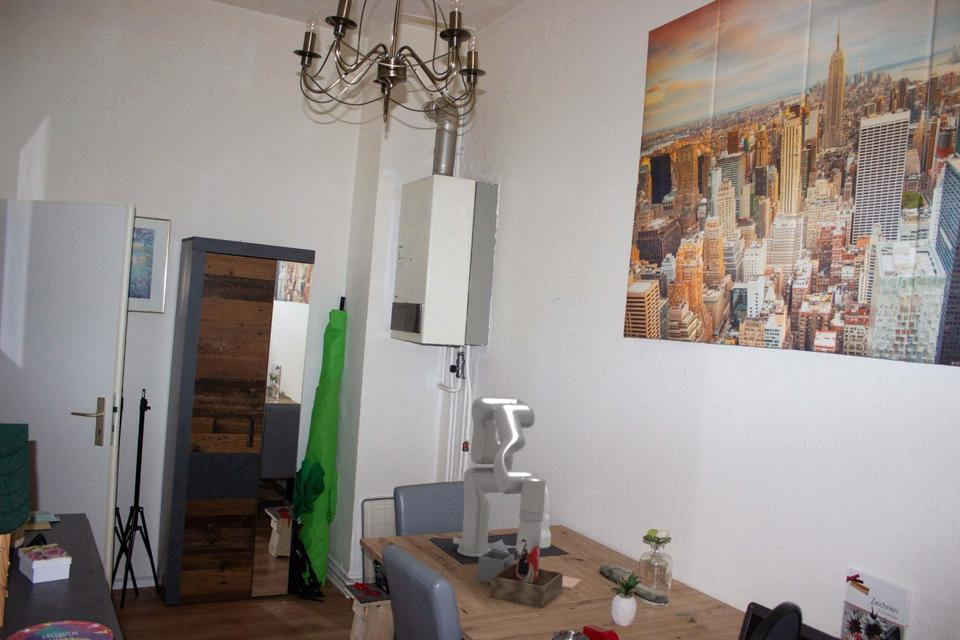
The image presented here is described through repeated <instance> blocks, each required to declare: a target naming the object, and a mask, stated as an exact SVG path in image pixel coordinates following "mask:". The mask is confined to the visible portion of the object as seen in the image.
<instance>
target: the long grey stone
mask: <svg viewBox="0 0 960 640" xmlns="http://www.w3.org/2000/svg"><path fill="white" fill-rule="evenodd" d="M599 572H601V573H603V575H604V576H605V577H607V578H608V577H609V578H608V579H609V581H612V580H613V581H612V582H615V583H617V581H619V580H620V575H622V576H623V578H624V580H627V579H628V577H629V576H630V575H631V574H632V573H633V572H635V571H634V570H632V569H630V568H628V567H626V566H625V567H624V566H621V565H620V564H619V565H618V564H615V563H613V562H607V561H605V562H601V563H600V564H599ZM636 574H638V572H637V573H636ZM636 595H638V596H640V597H642V598H643V599H646V600H647V601H651V602H654V603H657V604H665V603H667V602H668V595H667V593H666V592H665V591H664V590H663V589H662V590H655V589H650V588H648V587H645V586H643V585H642V584H640V583H639V584H638V585H637V586H636Z"/></svg>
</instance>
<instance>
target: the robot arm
mask: <svg viewBox="0 0 960 640" xmlns="http://www.w3.org/2000/svg"><path fill="white" fill-rule="evenodd" d="M535 416H536V415H535V412H534V409H533V407H532V406H531V405H530V404H529V403H528V402H526V401H524V400H522V399H520V398H518V397H513V396H479V397H476V398H475V399H474V400H473V401H472V404H471V418H472V424H473V425H472V426H473V427H472V437H471V444H470V445H471V446H470V460H471V461H472V462H473V463H475V464H477V465H493V466H473V467H469V468H467V469H465V472H464V473H463V479H462V481H463V490H464V502H463V503H464V507H463V522H462V535H461V536H462V537H461V538H460V537H456V536H454V537H453V539H452V544H454V545H458V547H457V553H459V554H460V555H462V556H466V557H471V558H479V556H480V555H482V554H484V553H486V552H487V551H489V550H492V549H491V548H490V547H488V546H489V529H490V511H491V504H490V502H489V500H488V499H487V497H486V496H485V494H489V493H492V494H493V493H497V494H498V493H502V494H504V495H520V503H519V504H520V505H519V515H518V516H519V524H518V528H517V536H516V542H515V544H516V545H515V552H517V553H518V558H519V559H518V561H519V562H518V574H522V575H528V565H529V562H528V558H529V554H530V553H532V550H533V548H534V546H536V545H537V544H538V547H539V546H540V540H541V522H543V512H544V499H545V485H546V484H547V483H546V479H545V478H544V477H542V476H540V475H539V473H538V472H537V471H534V470H521V469H519V470H512V469H513V464H514V463H513V461H514V454H515V453H517V452H519V451H520V450H522V449H523V448H524V447H525V445H526V439H525V435H524V431H523V429H529V428H532V427H533V426H534V424H535V420H536V417H535ZM496 436H498V438H496ZM546 486H547V485H546ZM524 549H525V550H528V552H524ZM523 554H526V558H525V555H523Z"/></svg>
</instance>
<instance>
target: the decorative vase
mask: <svg viewBox="0 0 960 640" xmlns="http://www.w3.org/2000/svg"><path fill="white" fill-rule="evenodd" d="M550 521H551V519H550V491H549V489H548V487H547V485H545V499H544V512H543V522H541V540H540V546H539V549H546V548H547V549H548V548H549V547H551V546H552V545H551V544H552V542H551V541H552V534H551V531H550V523H551V522H550Z"/></svg>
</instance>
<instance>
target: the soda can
mask: <svg viewBox="0 0 960 640" xmlns="http://www.w3.org/2000/svg"><path fill="white" fill-rule="evenodd" d="M524 552H528V550H525V549H524ZM540 552H541V548H539V547H538V544H537V545H536V546H534V548H533V550H532V553H530V554H529V558H528V562H529V565H528V575H522V574H518V562H519V561H518V559H519V558H518V552H517V554H516V564H517V566H516V578H517V579H518V580H519V581H520V582H523V583H533V582H534V581H536V580H537V578H538V570H539V567H540V554H541V553H540ZM523 555H525V558H526V554H523Z"/></svg>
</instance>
